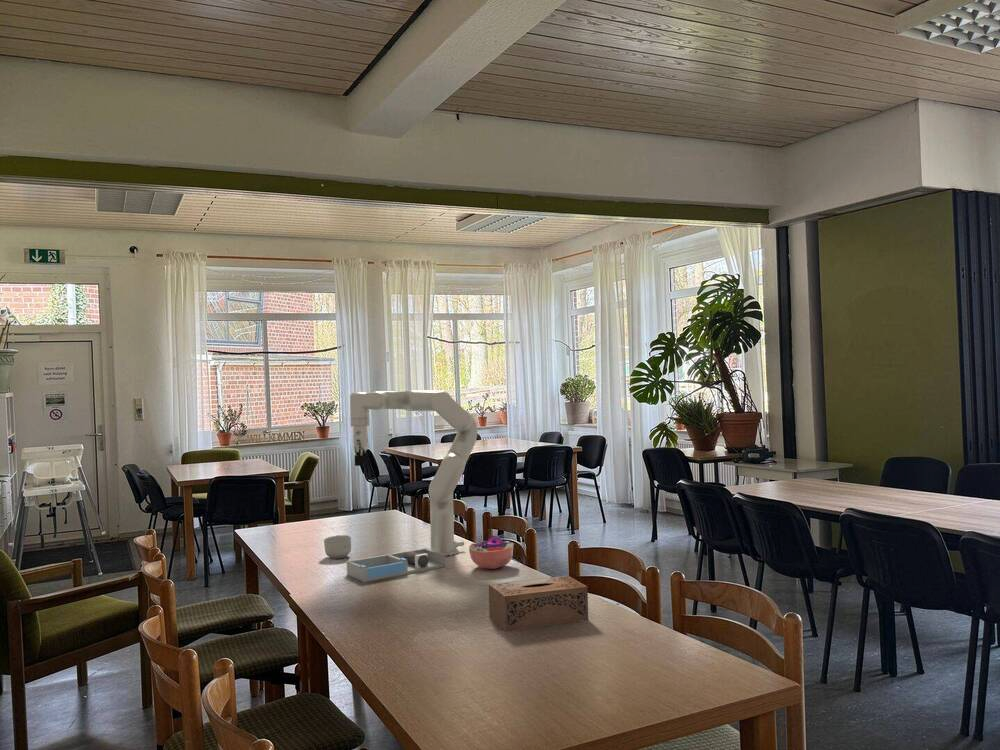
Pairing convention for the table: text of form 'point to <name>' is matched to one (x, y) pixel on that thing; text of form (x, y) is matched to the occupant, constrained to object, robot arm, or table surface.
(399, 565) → the divided grey tray
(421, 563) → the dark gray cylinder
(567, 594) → the tissue box cover
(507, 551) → the cell model
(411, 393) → the robot arm
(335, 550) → the teacup
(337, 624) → the table surface
